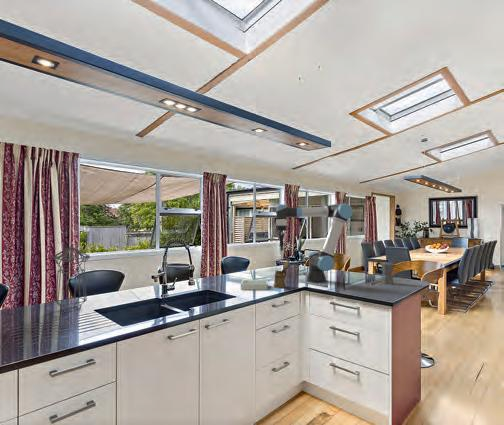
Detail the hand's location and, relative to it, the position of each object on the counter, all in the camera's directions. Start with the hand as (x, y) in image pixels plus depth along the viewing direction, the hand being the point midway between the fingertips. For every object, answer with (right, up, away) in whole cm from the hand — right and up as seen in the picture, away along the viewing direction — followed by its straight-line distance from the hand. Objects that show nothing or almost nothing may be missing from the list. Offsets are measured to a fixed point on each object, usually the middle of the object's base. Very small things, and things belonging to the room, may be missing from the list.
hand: (281, 253), depth 238 cm
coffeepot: (+81, -24, +9) cm, 85 cm away
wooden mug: (0, -24, 0) cm, 24 cm away
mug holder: (-20, -24, -4) cm, 31 cm away
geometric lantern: (-123, -24, -59) cm, 138 cm away
